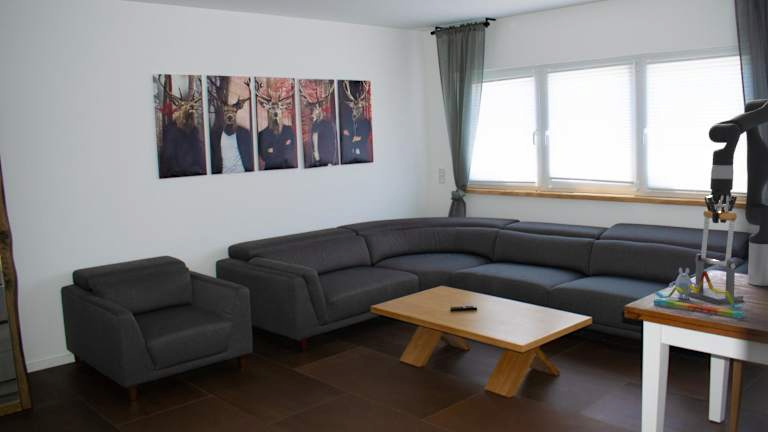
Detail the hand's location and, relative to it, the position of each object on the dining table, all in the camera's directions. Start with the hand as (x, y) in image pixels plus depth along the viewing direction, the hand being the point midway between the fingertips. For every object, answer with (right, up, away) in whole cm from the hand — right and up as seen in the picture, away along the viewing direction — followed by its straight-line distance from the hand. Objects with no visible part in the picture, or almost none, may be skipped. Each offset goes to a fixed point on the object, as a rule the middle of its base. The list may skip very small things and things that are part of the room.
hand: (719, 222), depth 259 cm
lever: (-1, -15, +1) cm, 15 cm away
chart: (-15, -32, -13) cm, 38 cm away
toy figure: (-12, -29, +4) cm, 32 cm away
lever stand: (0, -29, +3) cm, 29 cm away
